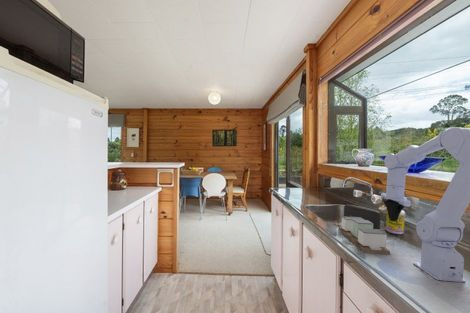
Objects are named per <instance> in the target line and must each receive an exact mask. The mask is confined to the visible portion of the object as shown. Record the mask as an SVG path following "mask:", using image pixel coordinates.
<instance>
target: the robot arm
mask: <svg viewBox="0 0 470 313" xmlns="http://www.w3.org/2000/svg"><path fill="white" fill-rule="evenodd" d="M444 149H445V150H446V152H448V153H449V154H450V156H452V158H453V159H454V160H456V161H457V162H458V164H459V166H458V168H457V169H456V171H455V173H454V174H453V176H452V178H451V180H450V182H449V184H448V186H447V188H446V190H445V191H444V193H443V195H442V197H441V198H440V201H439V203H438V205H437V206H436V208H435V210H433V211H431V212H429V213H427V214H425V215H424V217H423V218H422V219H420V220H419V221H418V222H417V223H416V225H415V231H416V233H417V235H418V237H419V240H420V241H421V251H420V252H421V255H420V262H419V261H413V265H415V266H416V267H417V268H419V269H421V270H422V271H424V272H425V273H426V274H428V275H429V276H431V277H432V278H434V280H438V281H445V282H446V281H447V282H448V281H450V282H457V283H459V282H462V283H466V282H467V280H466V279H465V278H464V268H465V259H464V256H463V255H462V254H461V253H460V252H458V251H457V249H456V248H455V247H456V246H457V243H460V242H461V241H462V239H463V236H464V228H465V227H466V225H465V222H464V221H463V220H462V216H463V215H464V214H465V211H466V210H467V208H468V206H469V205H470V127H459V126H458V127H457V126H451V127H448V128H446V129H444V130H441V131H440V132H439V133H438V135H436V136H434V137H433V138H431V139H429V140H428V141H426V142H423V143H422V144H421V145H415V144H414V145H413V144H410V145H407V148H404V149H403V150H400V151H397V153H388V154H387V155H386V156H385V157H384V162H383V163H384V166H385V168H386V169H387V173H386V186H385V187H386V188H385V189H386V190H385V192H381V193H380V198H382V199H384V201H383V204H384V205H385V207H386V210H387V211H388V215H389V220H391V221H397V219H398V217H399V214H400V212H401V211H402V210H403V209H404V208H405V207H408V208H409V207H411V206H412V201H411V200H409V199H407V198H408V197H405V190H406V189H405V188H406V178H407V176H406V175H407V174H408V172H409V169H410V167H411V166H412V165H414V164H416V163H419V162H422V161H424V160H425V158H426V155H429V154H432V153H436V152H438V151H441V150H444ZM387 211H386V212H387Z"/></svg>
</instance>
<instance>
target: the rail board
mask: <svg viewBox="0 0 470 313" xmlns="http://www.w3.org/2000/svg"><path fill="white" fill-rule="evenodd" d="M339 230H340V231H341V232H342V233H341V232H340V231H339ZM338 231H339V232H340V233H341V234H342V235H343V236H345V237H346V238H347V239H348V240H349V241H350V242H352V243H353V244H354V246H356V247H357V248H358V249H359V250H360V251H362V252H363V253H367V254H368V253H370V254H379V255H380V254H381V255H390V252H391V250H390V249H388V248H387V247H376V246H363V245H362V244H361V243H359V242H358V238H356V237H355V236H354V235H353V234H352V231H345V230H344V229H343V228H342V227H340V226H339V227H338Z"/></svg>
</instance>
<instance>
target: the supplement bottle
mask: <svg viewBox="0 0 470 313" xmlns="http://www.w3.org/2000/svg"><path fill="white" fill-rule="evenodd" d="M405 216H406V212H405V210H403V209H402V211H401V212H400V214H399V217H398V219H397V221H391V220H389V215H388V211H386V220H385V230H386V231H387V232H388V233H391V234H396V235H403V234H404V231H405V230H404V229H405V219H406V217H405Z"/></svg>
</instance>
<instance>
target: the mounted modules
mask: <svg viewBox="0 0 470 313" xmlns="http://www.w3.org/2000/svg"><path fill="white" fill-rule="evenodd" d="M353 219H354V220H364V219H362V218H361V217H346V216H344V215H343V216H341V228H343V229H344V230H345V231H352V227H353ZM358 229H359V230H358V242H359V243H361V244H362V245H363V246H376V247H385V248H387V237H388V236H387V235H388V233H387V232H385V231H384V230H382V229H381V228H380V229H364V228H358Z"/></svg>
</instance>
